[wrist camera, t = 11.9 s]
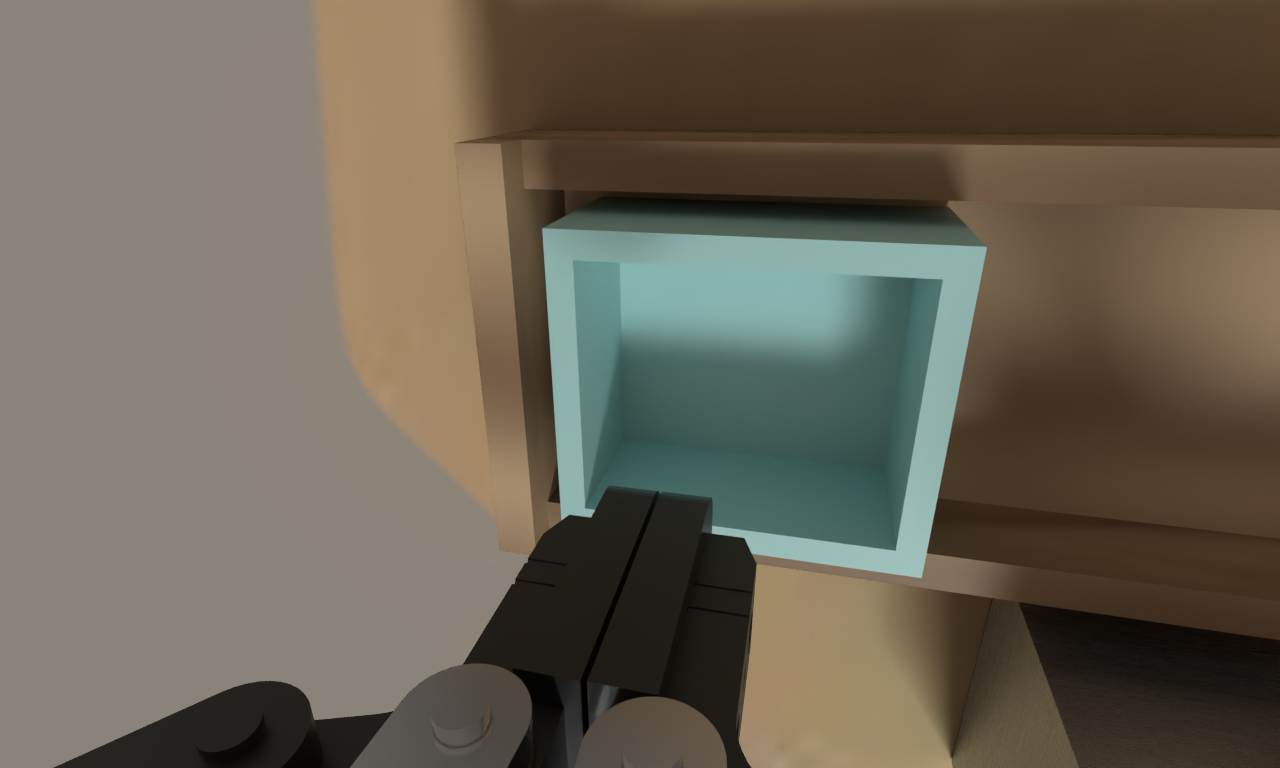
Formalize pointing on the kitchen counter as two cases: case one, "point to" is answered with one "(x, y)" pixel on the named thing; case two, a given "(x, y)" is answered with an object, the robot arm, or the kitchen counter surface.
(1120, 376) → the bay
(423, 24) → the kitchen counter surface
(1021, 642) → the open metal box
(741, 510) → the box
